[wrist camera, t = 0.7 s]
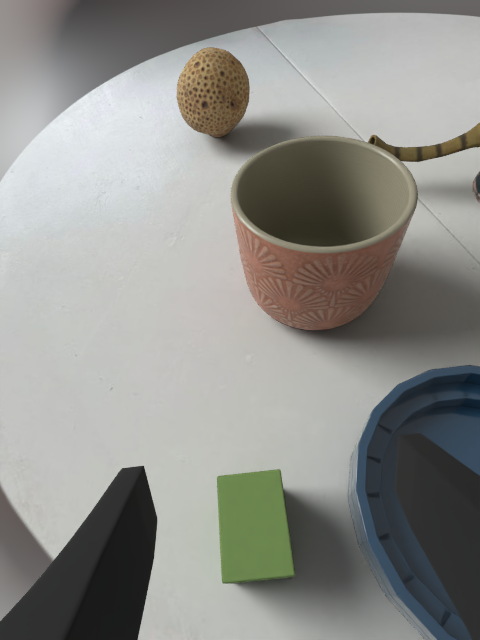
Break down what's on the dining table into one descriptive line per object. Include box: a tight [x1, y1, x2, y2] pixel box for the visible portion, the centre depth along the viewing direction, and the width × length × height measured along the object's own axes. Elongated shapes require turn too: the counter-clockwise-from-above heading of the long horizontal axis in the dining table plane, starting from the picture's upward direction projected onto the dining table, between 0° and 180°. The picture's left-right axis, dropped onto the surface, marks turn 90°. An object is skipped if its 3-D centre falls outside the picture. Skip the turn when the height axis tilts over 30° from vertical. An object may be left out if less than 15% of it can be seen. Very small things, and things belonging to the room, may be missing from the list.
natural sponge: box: [177, 47, 249, 137], centre depth 46 cm, size 9×9×10 cm
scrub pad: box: [217, 469, 295, 583], centre depth 22 cm, size 5×4×5 cm
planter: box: [231, 136, 418, 330], centre depth 30 cm, size 12×12×11 cm
